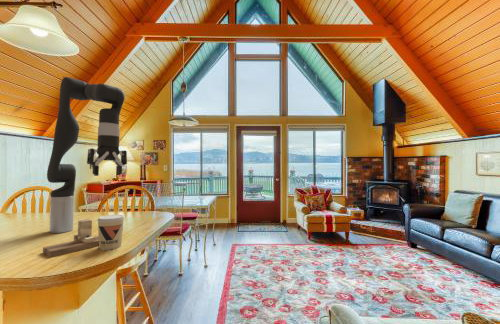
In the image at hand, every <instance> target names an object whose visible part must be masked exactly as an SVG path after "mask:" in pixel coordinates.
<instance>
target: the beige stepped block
mask: <svg viewBox="0 0 500 324" xmlns="http://www.w3.org/2000/svg"><path fill="white" fill-rule="evenodd" d="M92 222H93V220H92V219H90V218H89V219H88V218H86V219H79V220H77V234H73V241H75V240H80V241H82V242H85V243H89V242H94V241H95V237H94V236H92V231H93V230H92V229H93V225H92V224H93V223H92Z"/></svg>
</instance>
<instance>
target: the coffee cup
mask: <svg viewBox="0 0 500 324" xmlns="http://www.w3.org/2000/svg"><path fill="white" fill-rule="evenodd" d="M124 219H125V217H124V215H122V214H107V215H102V216H99V217H98V219H97V223H98V224H97V227H98V228H97V231H98V236H99V246H98V247H99V249H100V250H103V251H105V250H106V251H108V250H114V249H115V250H116V249H118V248H120V247H121V246H122V242H123V241H122V240H123V231H124V221H125V220H124Z"/></svg>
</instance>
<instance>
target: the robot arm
mask: <svg viewBox="0 0 500 324" xmlns="http://www.w3.org/2000/svg"><path fill="white" fill-rule="evenodd" d="M59 88H60V89H59V97H58V98H59V99H58V100H59V101H58V103H59V104H58V110H57V111H58V112H57V116H56V123H55V126H54V128H55V129H54V133H53V134H54V136H53V143H52V150H51V153H50V154H51V155H50V158H49V161H48V162H49V163H48V166H47V169H46V170H47V172H46V179H47V181H48V182H49V183H52V184H55V183H56V184H57V183H58V184H59V183H61V184H62V183H64V184H63V185H62V186H60V187H59V188H55V189H53V190H51V191H50V207H49V208H50V210H49V233H51V234H58V233H59V234H60V233H61V234H62V233H66V232H67V233H68V232H70V231H73V230H74V210H75V209H74V206H75V205H74V204H75V203H74V201H75V188H76V178H77V177H76V176H77V169H76V166H75V165H74V164H71V163H61V161H62V160H63V158H64V156H65V154H67V152H69V150H71V148H73V147H74V146H75V144H76V143H77V142H78V140H79V134H80V126H79V123H78V121H77V119H76V117H75V115H74V113H73V111H72V108H71V99H73V100H78V101H89V100H91V101H93V102H94V101H95V102H100V103H106V104H110V105H111V107H110V108H101V109H100V110H99V114H98V117H99V118H98V127H97V149H96V148H88V149H87V159H86V163H87V165H90V166H92V174H93V176H94V177H95V176H96V177H98V176H99V175H100V174H99V173H100V171H99V170H100V166H99V165H100V164H101V162H103V161H113V162H114V163H115V165H116V168H115V170H116V171H115V172H116V176H121V175H122V174H123V166H125V165H127V164H128V159H127V158H128V155H127V152H128V151H126V150H120V149H119V148H120V135H121V134H120V132H121V131H120V114H121V111H122V108H123V105H124V102H125V100H126V99H125V98H126V95H125V92H124V91H123V89H121V88H120V87H116V86H112V85H109V84H105V83H88V82H86V81H83V80H80V79H76V78H73V77H69V76H64V77H63V78H62V79H61V81H60V86H59ZM96 154H97V155H98V156H97V157H96V158H94V157H95V155H96ZM119 156H120V158H119ZM94 159H95V160H94Z"/></svg>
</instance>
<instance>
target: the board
mask: <svg viewBox="0 0 500 324" xmlns="http://www.w3.org/2000/svg"><path fill="white" fill-rule="evenodd" d="M93 237H95V241H94V242H89V243H85V242H82V241H80V240H75V241H74V240H71V241H65V242H62V243H57V244H56V243H55V244H52V245H47V246H43V247H42V254H44V255H47V256H48V257H50V258H53V257H57V256H61V255H64V254H65V255H66V254H70V253H74V252H77V251H82V250H86V249H90V248H94V247H99V235H95V236H93Z"/></svg>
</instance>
